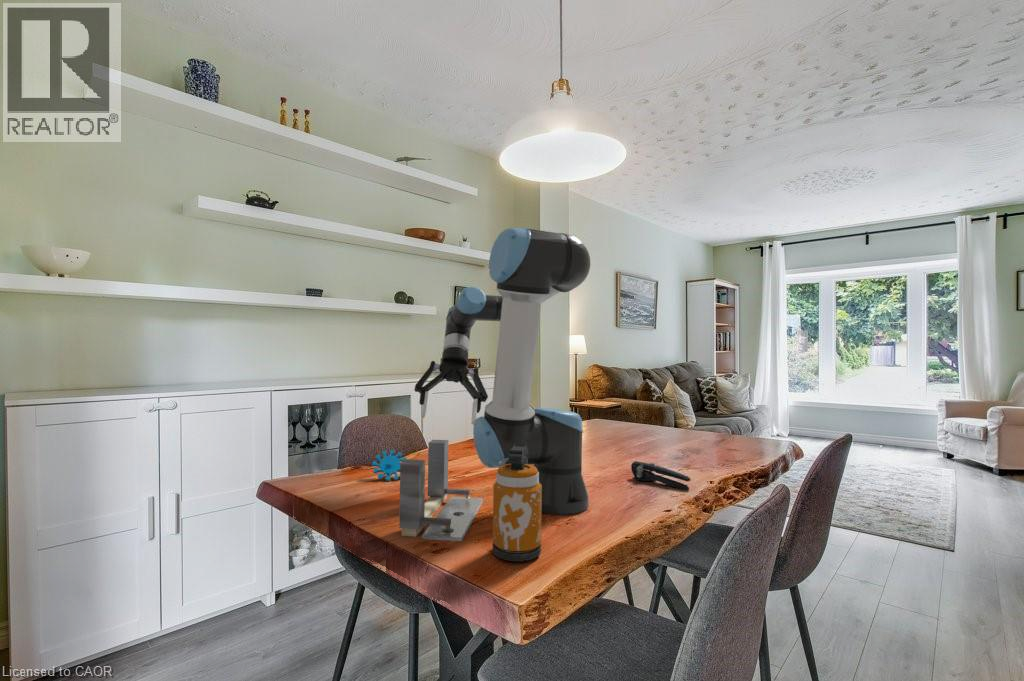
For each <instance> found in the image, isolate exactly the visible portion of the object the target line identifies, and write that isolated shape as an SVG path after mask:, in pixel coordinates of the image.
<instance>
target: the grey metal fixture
mask: <svg viewBox="0 0 1024 681" xmlns="http://www.w3.org/2000/svg"><path fill="white" fill-rule="evenodd" d="M425 497H426V459H415V458H406V460H405V461H403V462H402V461H401V462H400V472H399V517H398V518H399V522H398V523H399V524H398V525H399V526H398V527H399V529H401V537H412V536H413V538H414V537H415V538H416V537H418V535H419V534H420V532H422V530H423V529H424V528H425V526H429V525H443V526H445V529H447V530H448V529H450V525H451V519H445V518H435V517H433V516H434V515H435V513H436V512H437V510H438V509H439V508H440V507H441V506H442V504H443V503H444V502H445V500H447V498H448V494H446V495H445V496H444V497H433V496H429V497H428V498H427V499H426V498H425Z"/></svg>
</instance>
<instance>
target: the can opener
mask: <svg viewBox="0 0 1024 681" xmlns="http://www.w3.org/2000/svg"><path fill="white" fill-rule="evenodd" d="M630 467H631V472H632V475H633V476H634V478H635V479H636V480H637V481H640V482H649V481H655V482H659V483H662V484H664V485H666V486H669V487H670V488H675V489H678V490H679V489H680V490H684V491H688V490H690V487H689V486H688V485H687V484H684V483H682V482H679V481H677V480H673V479H671V478H674V479H678V480H681V481H684V482H691V480H692V478H690V477H689V476H687V475H685V474H682V473H681V472H677V471H674V470H672V469H669V468H666V467H663V466H659V465H655V463H654V462H649V463H647V462H643V461H636V460H635V461H633V462H632V463H631V466H630ZM658 474H659V475H658ZM665 476H666V477H665ZM668 477H670V478H668Z"/></svg>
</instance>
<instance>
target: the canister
mask: <svg viewBox="0 0 1024 681" xmlns="http://www.w3.org/2000/svg"><path fill="white" fill-rule="evenodd" d="M526 453H527V457H526ZM507 459H508V460H507ZM505 460H506V461H505ZM509 460H510V463H511V464H505V465H502V466H500V467H499V468H497V470H496V480H495V481H496V482H494V483H493V492H492V494H493V497H492V498H493V499H492V552H493V554H494V555H495V556H496V557H498V558H500V559H502V560H506V561H509V562H516V561H519V562H525V561H524V560H526V561H529V560H533V559H536V558H538V557H539V555H540V554H541V552H542V544H541V543H542V512H541V506H542V485H541V484H540V483H539V472H538V470H537V468H536V467H534V465H533V464H532V465H529V464H528V449H527V445H526V444H525V447H519V446H516V445H515V443H514V446H513V448H512V449H510V454H509V456H508V458H506V459H504V460H502V461H500V462H499V464H502V463H505V462H507V461H509ZM503 461H504V462H503ZM525 462H526V464H525Z"/></svg>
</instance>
